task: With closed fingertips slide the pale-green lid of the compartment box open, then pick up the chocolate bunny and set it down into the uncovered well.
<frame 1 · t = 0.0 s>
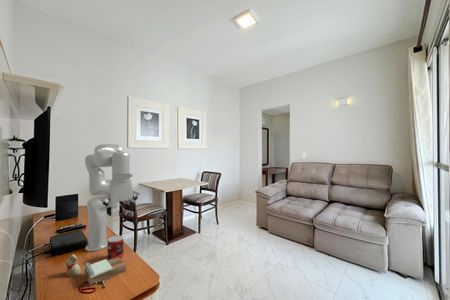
hand: (120, 212, 90), 31 cm above the table, fingers open, 9 cm apart
lid: (99, 266, 91), point 4 cm above the table, slide at 0.0 cm
compartment box: (105, 272, 93), on the table
chocolate bunny: (73, 274, 93), on the table
canned food: (115, 257, 107), on the table
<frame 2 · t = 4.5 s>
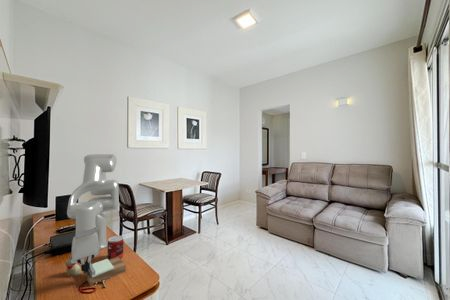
hand: (85, 271, 88), 5 cm above the table, fingers closed
lid: (100, 265, 92), point 4 cm above the table, slide at 0.6 cm, touching gripper
everything else where it was.
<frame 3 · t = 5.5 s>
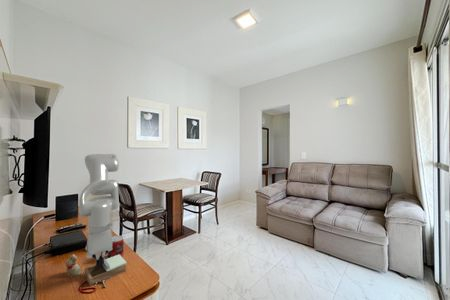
hand: (100, 265, 92), 5 cm above the table, fingers closed
lid: (113, 260, 96), point 4 cm above the table, slide at 6.4 cm, touching gripper
everything else where it was.
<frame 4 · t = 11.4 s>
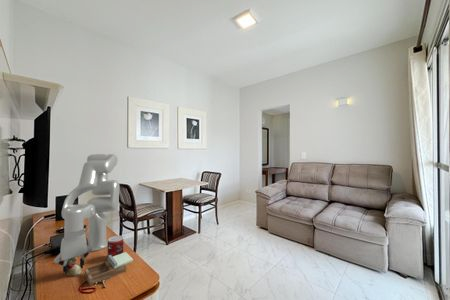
hand: (73, 269, 93), 2 cm above the table, fingers closed on chocolate bunny, 5 cm apart
lid: (120, 258, 98), point 4 cm above the table, slide at 9.7 cm
chocolate bunny: (74, 274, 93), on the table, touching gripper
everything else where it was.
when the fingers open (5 cm above the table, at t = 16.4 s): chocolate bunny drops 2 cm, resting on compartment box.
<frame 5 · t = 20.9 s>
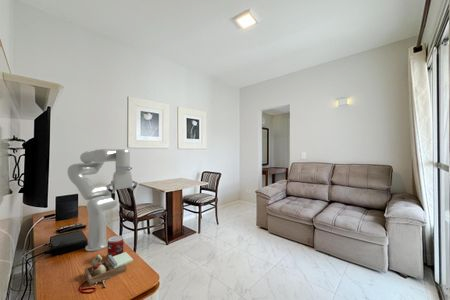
hand: (122, 198, 112), 33 cm above the table, fingers open, 9 cm apart
chocolate bunny: (99, 274, 91), resting on compartment box
everything else where it was.
at the end: lid slide at 9.7 cm; chocolate bunny inside the target area on the compartment box (0.2 cm from its centre), point 0.3 cm above the compartment box's base; the gripper is holding nothing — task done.
